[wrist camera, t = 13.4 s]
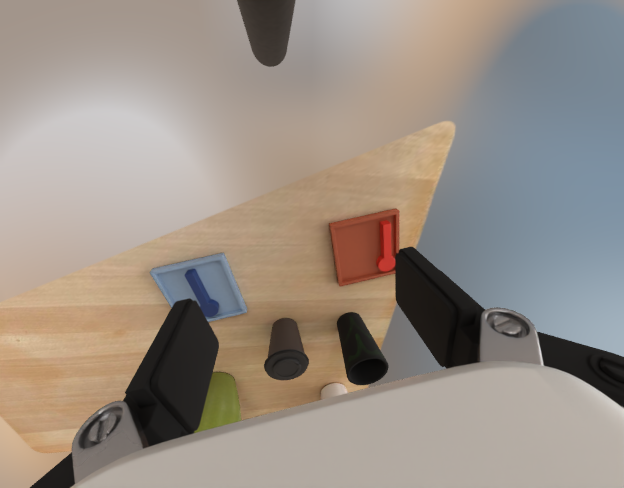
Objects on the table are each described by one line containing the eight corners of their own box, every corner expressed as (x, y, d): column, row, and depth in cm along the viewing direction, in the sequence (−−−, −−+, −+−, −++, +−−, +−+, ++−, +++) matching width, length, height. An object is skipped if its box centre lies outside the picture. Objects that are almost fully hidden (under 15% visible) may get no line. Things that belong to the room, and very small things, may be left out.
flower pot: (178, 398, 56) (146, 490, 42) (188, 356, 50) (155, 447, 36) (241, 402, 60) (231, 487, 46) (257, 364, 54) (251, 449, 40)
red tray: (328, 223, 40) (330, 226, 39) (396, 208, 41) (399, 210, 40) (338, 283, 47) (339, 286, 46) (396, 269, 47) (399, 272, 46)
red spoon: (374, 222, 41) (377, 226, 40) (392, 218, 41) (396, 221, 40) (376, 269, 46) (379, 274, 45) (393, 266, 46) (396, 270, 45)
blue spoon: (181, 271, 40) (178, 276, 39) (200, 266, 40) (198, 272, 39) (204, 314, 45) (202, 320, 44) (222, 310, 45) (220, 316, 44)
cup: (351, 337, 55) (370, 389, 44) (325, 327, 52) (338, 380, 41) (372, 315, 52) (397, 364, 42) (346, 304, 50) (365, 352, 39)
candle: (348, 376, 62) (356, 402, 56) (349, 396, 66) (356, 421, 60) (315, 383, 61) (319, 409, 55) (317, 402, 65) (322, 428, 59)
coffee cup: (309, 318, 50) (317, 359, 41) (294, 343, 53) (298, 387, 44) (274, 309, 47) (274, 351, 39) (260, 336, 50) (257, 381, 42)
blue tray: (152, 268, 40) (149, 272, 39) (223, 252, 40) (222, 255, 39) (186, 323, 46) (183, 327, 45) (247, 308, 46) (246, 312, 45)
